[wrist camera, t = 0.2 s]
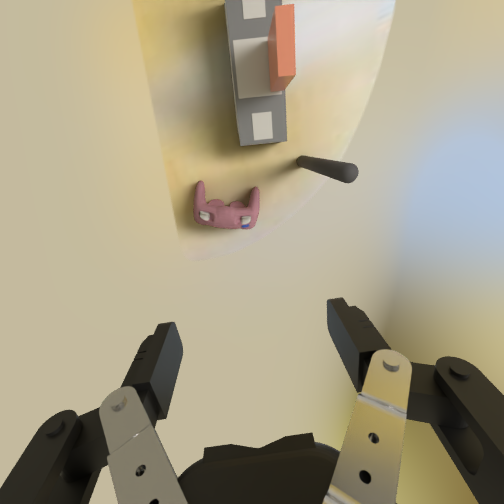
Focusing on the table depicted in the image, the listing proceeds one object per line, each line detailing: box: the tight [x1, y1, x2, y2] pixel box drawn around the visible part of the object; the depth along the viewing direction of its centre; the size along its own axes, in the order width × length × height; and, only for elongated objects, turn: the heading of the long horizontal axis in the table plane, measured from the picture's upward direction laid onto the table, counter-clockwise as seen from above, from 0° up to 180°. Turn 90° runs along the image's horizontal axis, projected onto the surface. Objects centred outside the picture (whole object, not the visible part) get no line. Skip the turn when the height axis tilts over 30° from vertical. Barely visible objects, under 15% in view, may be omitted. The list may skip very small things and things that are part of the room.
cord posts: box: [297, 156, 358, 183], centre depth 25 cm, size 24×2×18 cm, turn 6°
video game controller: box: [194, 181, 259, 229], centre depth 37 cm, size 10×5×7 cm, turn 84°
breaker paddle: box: [268, 4, 296, 92], centre depth 25 cm, size 5×2×7 cm, turn 5°
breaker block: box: [224, 0, 287, 146], centre depth 31 cm, size 16×6×5 cm, turn 6°
